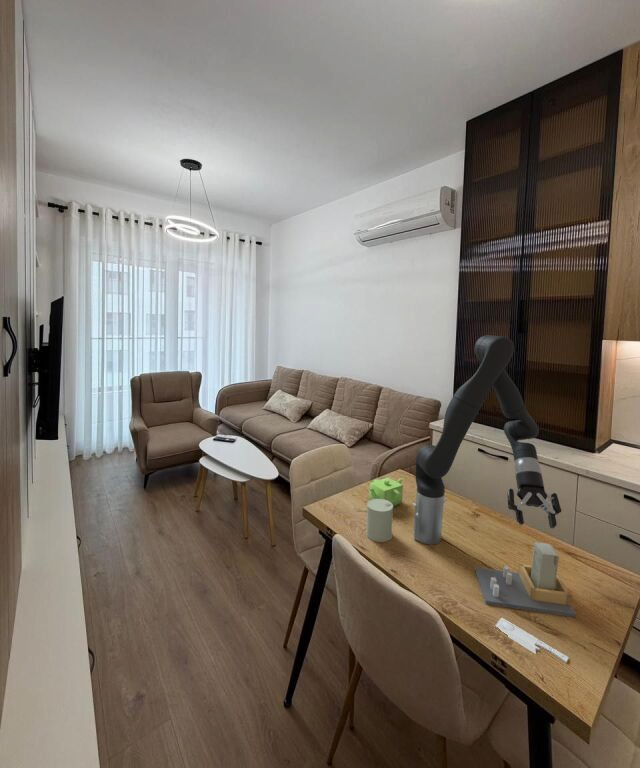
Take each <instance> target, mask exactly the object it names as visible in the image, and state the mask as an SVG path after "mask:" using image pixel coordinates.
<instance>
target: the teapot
mask: <svg viewBox="0 0 640 768" xmlns="http://www.w3.org/2000/svg"><path fill="white" fill-rule="evenodd" d="M404 479H405V478H404V477H400V478H398V480H397V481H396V480H394V479H392V478H391V477H385V478H382V479H374V480H373V481H371V482H370V483H369V488H367V490H369V496H368V497H369V499H368V501H370V500H372V499H384V500H387V501H389V502H391V503H392V504H393V507H397V505H400V504H403V490H404V485H403V484H402V481H404Z"/></svg>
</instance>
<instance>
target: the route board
mask: <svg viewBox="0 0 640 768" xmlns="http://www.w3.org/2000/svg"><path fill="white" fill-rule="evenodd" d="M531 570H532V564H530V565H529V564H522V563H519V564H518V572H515V571H510V567H509V566H508V565H506V566H505V565H504V566H503V569H502V570H501V569H500V570H499V569H490V568H483V567H477V566H475V567H474V571H475V573H476V577H477V580H478V583H479V587H480V591H481V593H482V596H483V600H484V603H485V604H486V605H492V606H498V607H504V608H505V607H506V608H511V609H519V610H524V611H531V612H537V613H538V612H539V613H543V614H544V613H545V614H551V615H558V616H565V617H572V618H576V617H577V613H576V612H575V610H574V608H573V606H572V605H571V599H572V594H571V592H570V591H569V590H568V588H567V587H566V585H565V584H564V582H563V580H562V579H561V577H560V576H559V574H558V573H557V576H556V585H555V591H554V590H547V589H540V588H535V587H534V585H533V583H532V581H531Z"/></svg>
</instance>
